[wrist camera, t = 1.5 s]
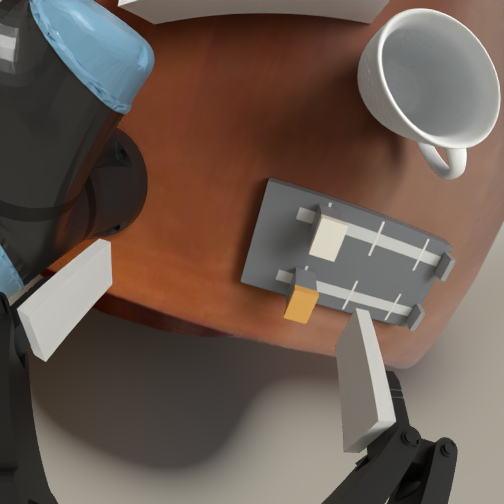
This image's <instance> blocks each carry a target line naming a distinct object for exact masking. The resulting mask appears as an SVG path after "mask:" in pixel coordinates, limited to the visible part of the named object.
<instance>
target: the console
mask: <svg viewBox="0 0 504 504" xmlns="http://www.w3.org/2000/svg"><path fill="white" fill-rule="evenodd" d="M319 204H322V205H325V206H328V207H331V208H334V209H337V210H340V211H341V214H342V216H343V218H344V220H345V222H347V224H348V226H349V227H348V229H347V232H346V234H345V237H344V239H343V242H342V244H341V247H340V249H339V251H338V254H337V256H336V259H335V261H334V262H333V261H330V260H326V259H323V258H320V257H316V256H313V255H310V254H309V251H308V249H309V247H310V246H309V231H310V228H311V226H312V223H313V220H314V217H315V214H316V211H317V208H318V205H319ZM451 249H452V246H451V245H450V244H449V243H448V242H447V241H446V240H444V239H442V238H440V237H438V236H435V235H433V234H431V233H428V232H426V231H423V230H421V229H419V228H416V227H414V226H411V225H409V224H406V223H404V222H401V221H399V220H396V219H393V218H391V217H388V216H386V215H383V214H380V213H378V212H375V211H372V210H370V209H367V208H364V207H361V206H358V205H356V204H353V203H350V202H347V201H344V200H341V199H338V198H335V197H332V196H329V195H326V194H323V193H320V192H317V191H314V190H311V189H308V188H305V187H301V186H298V185H295V184H292V183H288V182H285V181H282V180H278V179H275V178H271V177H270V178H269V180H268V184H267V187H266V191H265V194H264V198H263V202H262V205H261V209H260V212H259V216H258V220H257V223H256V227H255V230H254V234H253V238H252V241H251V245H250V249H249V252H248V256H247V259H246V263H245V267H244V270H243V274H242V278H241V281H240V282H242V283H246V284H249V285H252V286H256V287H259V288H263V289H266V290H269V291H273V292H276V293H280V294H283V295H287V291H288V288H289V285H290V283H291V280H292V277H293V275H294V272H295V270H296V267H297V268H300V269H304V270H307V271H311V272H314V273H316V283H317V291H318V293H319V297H318V300H317V302H316V304H319V305H323V306H326V307H330V308H334V309H337V310H341V311H345V312H349V313H352V314H353V312H354V310H355V308H359V309H363V310H367V311H369V313H370V317H371V318H372V319H375V320H379V321H383V322H387V323H391V324H395V325H399V326H403V327H407V326H408V327H409V329H410V330H411V331H415V329H416V328H417V326H418V325H419V323H420V322H421V320H422V319H423V317H424V316H425V312H424V310H423V308H422V306H421V304H422V302H423V301H424V299H425V297H426V296H427V294H428V292H429V291H430V289H431V287H432V285H433V284H434V282H435V280H436V278H437V277H438V278H439V279H440V280H441V281H444V282H445V280H446V279H447V277H448V275H449V273H450V271H451V269H452V267H453V266H454V264H455V262H456V261H455V259H454V258H453V257H452V256H451V255H450V254H449V253H450V251H451Z"/></svg>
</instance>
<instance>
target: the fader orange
mask: <svg viewBox="0 0 504 504" xmlns="http://www.w3.org/2000/svg"><path fill="white" fill-rule="evenodd" d="M318 297H319V293H318V291H317V283H316V273H314V272H311V271H307V270H304V269H300V268H297V267H296V270H295V272H294V275H293V277H292V280H291V283H290V285H289V288H288V291H287V297H286V308H285V311H284V317H283V318H286V319H290V320H293V321H297V322H301V323H305V324H306V323H307V321H308V319H309V317H310V315H311V312H312V310H313V308H314V306H315V304H316V302H317V300H318Z"/></svg>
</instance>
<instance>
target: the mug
mask: <svg viewBox="0 0 504 504" xmlns="http://www.w3.org/2000/svg"><path fill="white" fill-rule="evenodd" d="M357 79H358V87H359V91H360V94H361V97H362V99H363V102H364V103H365V105H366V106H367V109H368V110H369V111H370V112H371V114H372V115H373V116H374V117H375V118H376V119H377V120H378V121H379V122H380V123H381V124H382V125H384V126H385V127H387V128H388V129H389V130H391V131H393V132H395V133H396V134H398V135H401V136H402V137H405V138H408V139H410V140H414V141H416V142H417V145H418V147H419V149H420V151H421V152H422V154H423V156H424V158H425V160H426V161H427V163H428V164H429V166H430V167H431V169H432V170H433V171H434V172H435V173H436V174H437V175H438V176H439V177H441V178H443V179H446V180H450V179H454V178H457V177H459V176H460V175H461V174H462V173H463V172H464V170H465V166H466V148H469V147H472V146H474V145H476V144H478V143H480V142H481V141H482V140H484V139H485V138H486V137H487V136H488V135H489V133H490V132H491V131H492V129H493V127H494V125H495V123H496V120H497V117H498V114H499V109H500V87H499V81H498V77H497V73H496V70H495V68H494V65H493V63H492V61H491V59H490V57H489V55H488V53H487V52H486V50H485V48H484V47H483V45H482V44H481V43H480V41H479V40H478V39H477V38H476V36H475V35H474V34H473V33H472V32H471V31H470V30H469V29H468V28H467V27H465V26H464V25H463V24H462V23H460V22H459V21H457V20H456V19H454V18H452V17H450V16H448V15H446V14H444V13H441V12H438V11H435V10H431V9H410V10H406V11H403V12H401V13H399V14H397V15H395V16H394V17H392V18H391V19H390V20H389V21H388V22H387V23H386V24H385V25H384V26H383V27H381V28H380V30H379V31H378V32H377V33H376V34H375V36H373V37H372V38H371V40H370V42H368V44H367V46H366V48H365V49H364V51H363V54H362V55H361V58H360V61H359V64H358V75H357ZM434 146H439V147H443V148H444V149H445V152H446V155H447V158H448V162H449V166H447V165H446V164H445V162H444V161H443V160H442V159H441V157H440V156H439V154H438V153H437V151H436V149H435V148H434Z"/></svg>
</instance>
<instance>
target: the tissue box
mask: <svg viewBox="0 0 504 504" xmlns="http://www.w3.org/2000/svg"><path fill="white" fill-rule="evenodd" d="M389 1H390V0H119V3H118V7H121V8H123V9H125V10H127V11H129V12H131V13H133V14H135V15H137V16H139V17H141V18H143V19H145V20H147V21H149V22H151V23H153V24H159V23H165V22H170V21H176V20H182V19H189V18H196V17H204V16H214V15H226V14H245V13H284V14H302V15H314V16H324V17H332V18H339V19H346V20H352V21H358V22H363V23H368V24H371V23H372V22H373V21H374V19H375V18H376V17H377V15H378V14H379V13H380V12H381V10H382V9H383V8H384V7H385V6H386V4H387V3H388V2H389Z"/></svg>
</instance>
